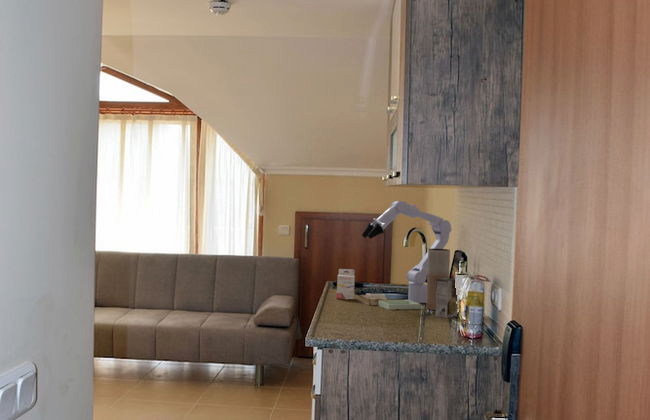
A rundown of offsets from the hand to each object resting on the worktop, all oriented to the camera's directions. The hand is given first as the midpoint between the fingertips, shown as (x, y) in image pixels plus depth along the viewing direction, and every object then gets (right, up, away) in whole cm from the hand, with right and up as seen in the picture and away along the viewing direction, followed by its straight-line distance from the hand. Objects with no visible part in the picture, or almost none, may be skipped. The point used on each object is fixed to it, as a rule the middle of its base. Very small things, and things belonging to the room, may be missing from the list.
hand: (366, 236), depth 304 cm
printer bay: (+3, -32, 0) cm, 32 cm away
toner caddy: (+5, -32, +1) cm, 33 cm away
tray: (+15, -32, -10) cm, 37 cm away
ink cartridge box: (-10, -32, +12) cm, 35 cm away
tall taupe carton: (+32, -33, -12) cm, 48 cm away
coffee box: (+33, -33, -31) cm, 56 cm away
